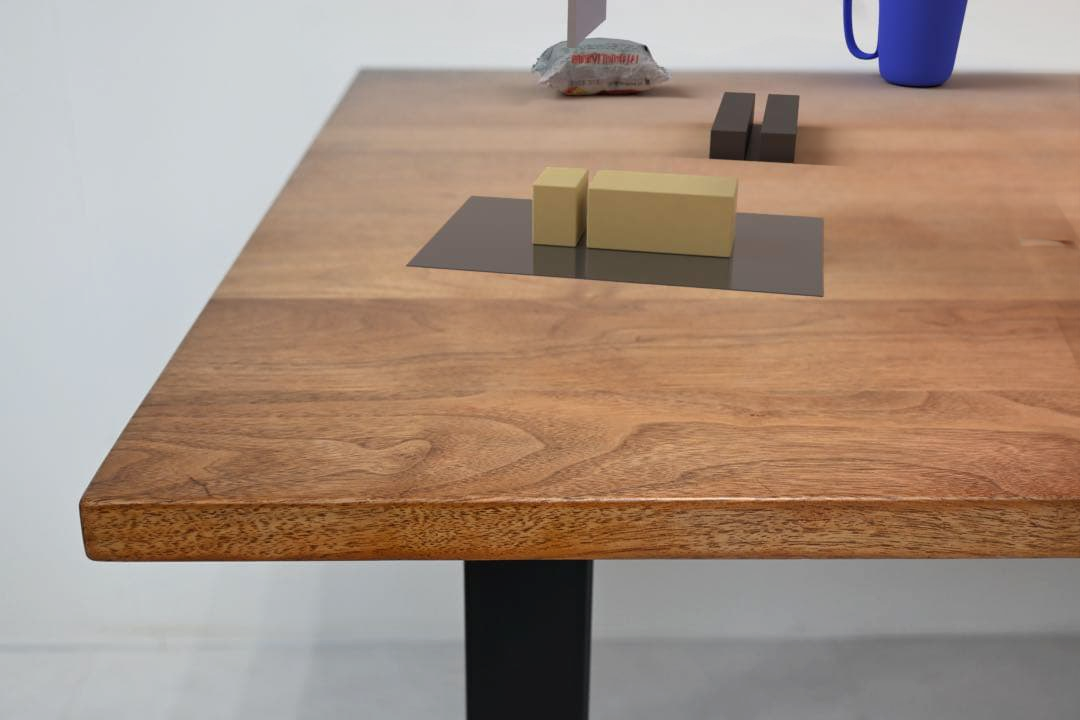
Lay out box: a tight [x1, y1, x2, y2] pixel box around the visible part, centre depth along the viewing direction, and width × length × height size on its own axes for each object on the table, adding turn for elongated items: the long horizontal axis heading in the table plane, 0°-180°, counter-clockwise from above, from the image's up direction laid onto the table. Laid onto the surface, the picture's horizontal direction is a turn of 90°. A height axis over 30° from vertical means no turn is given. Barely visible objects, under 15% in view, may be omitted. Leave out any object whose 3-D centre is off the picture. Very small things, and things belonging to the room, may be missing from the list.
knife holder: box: [708, 91, 801, 165], centre depth 96 cm, size 6×14×3 cm, turn 168°
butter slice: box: [532, 166, 590, 247], centre depth 72 cm, size 2×4×4 cm, turn 168°
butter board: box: [405, 195, 824, 298], centre depth 72 cm, size 22×14×1 cm, turn 78°
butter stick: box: [587, 169, 740, 258], centre depth 71 cm, size 8×4×4 cm, turn 78°
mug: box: [842, 0, 969, 87], centre depth 121 cm, size 8×12×10 cm
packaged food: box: [530, 37, 673, 96], centre depth 114 cm, size 9×12×5 cm
